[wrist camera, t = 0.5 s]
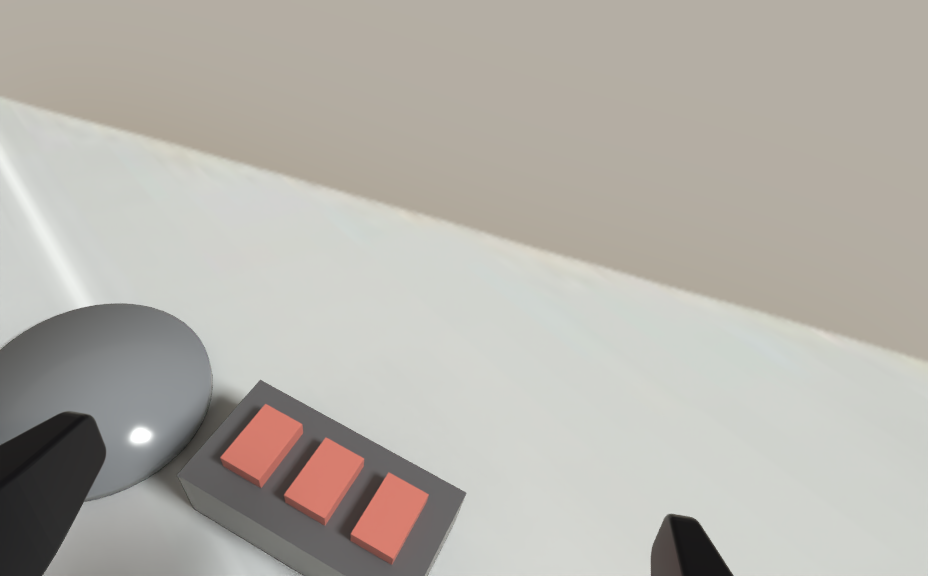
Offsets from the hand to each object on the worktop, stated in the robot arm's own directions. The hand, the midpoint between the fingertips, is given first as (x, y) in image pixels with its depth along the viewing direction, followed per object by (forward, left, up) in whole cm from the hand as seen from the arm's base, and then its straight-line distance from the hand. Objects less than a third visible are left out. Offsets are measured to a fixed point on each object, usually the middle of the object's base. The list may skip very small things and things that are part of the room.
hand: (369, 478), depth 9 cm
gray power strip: (+4, +3, -15) cm, 16 cm away
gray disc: (+3, +14, -15) cm, 21 cm away
